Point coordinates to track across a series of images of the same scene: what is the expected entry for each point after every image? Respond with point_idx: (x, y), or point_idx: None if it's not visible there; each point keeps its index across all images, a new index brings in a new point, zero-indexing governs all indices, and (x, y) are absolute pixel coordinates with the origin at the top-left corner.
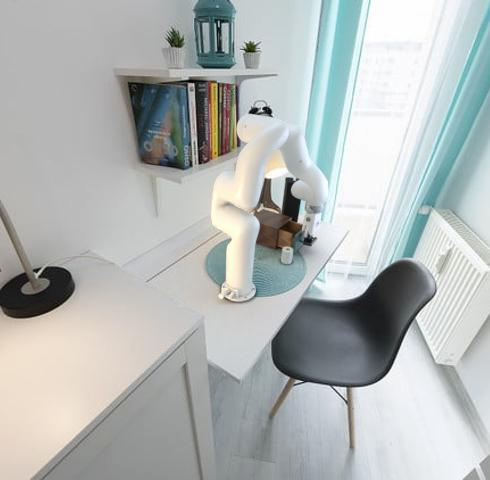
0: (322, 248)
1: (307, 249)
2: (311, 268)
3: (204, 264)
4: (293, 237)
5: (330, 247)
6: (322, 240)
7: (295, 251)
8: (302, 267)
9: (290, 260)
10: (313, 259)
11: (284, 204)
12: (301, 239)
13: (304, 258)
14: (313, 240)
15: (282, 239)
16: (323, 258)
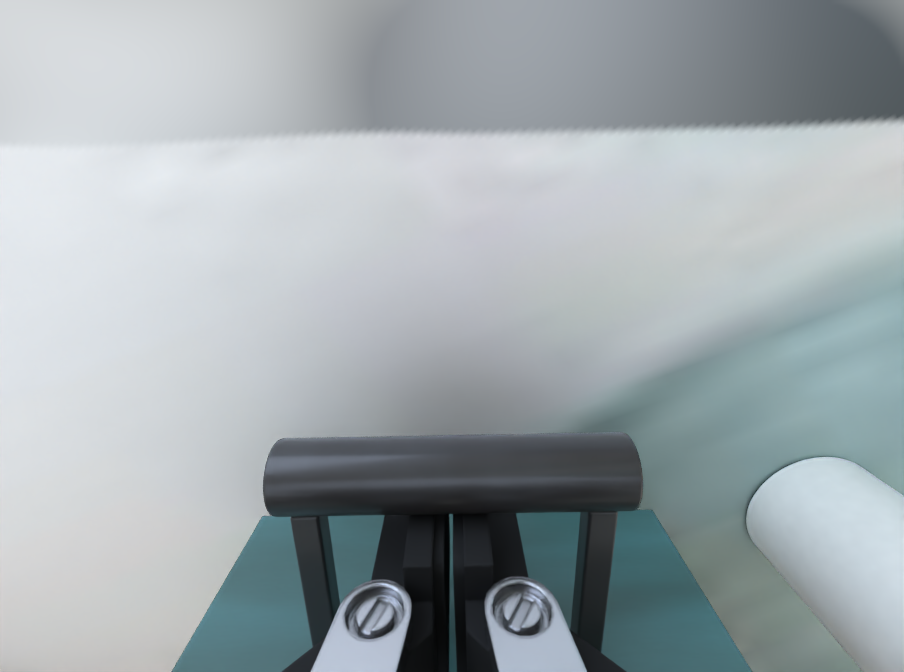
0: (224, 274)
1: (401, 424)
2: (839, 202)
3: None
4: None
5: (96, 182)
6: (19, 356)
7: (630, 523)
8: (863, 311)
9: (890, 490)
10: (594, 268)
11: None
12: None
13: (636, 373)
14: (460, 488)
15: None
16: (481, 154)
